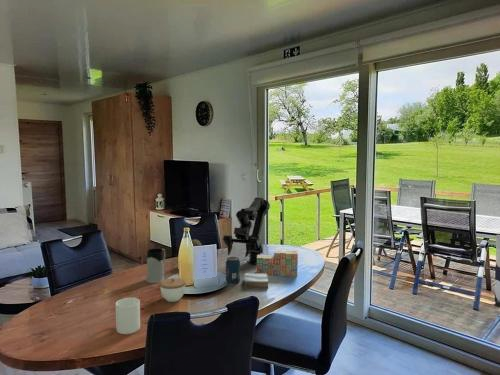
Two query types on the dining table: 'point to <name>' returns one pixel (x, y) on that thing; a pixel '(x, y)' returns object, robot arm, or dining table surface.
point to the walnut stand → (256, 280)
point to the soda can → (232, 270)
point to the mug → (127, 315)
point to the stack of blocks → (278, 263)
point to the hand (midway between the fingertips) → (237, 255)
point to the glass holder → (155, 265)
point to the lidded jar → (172, 289)
